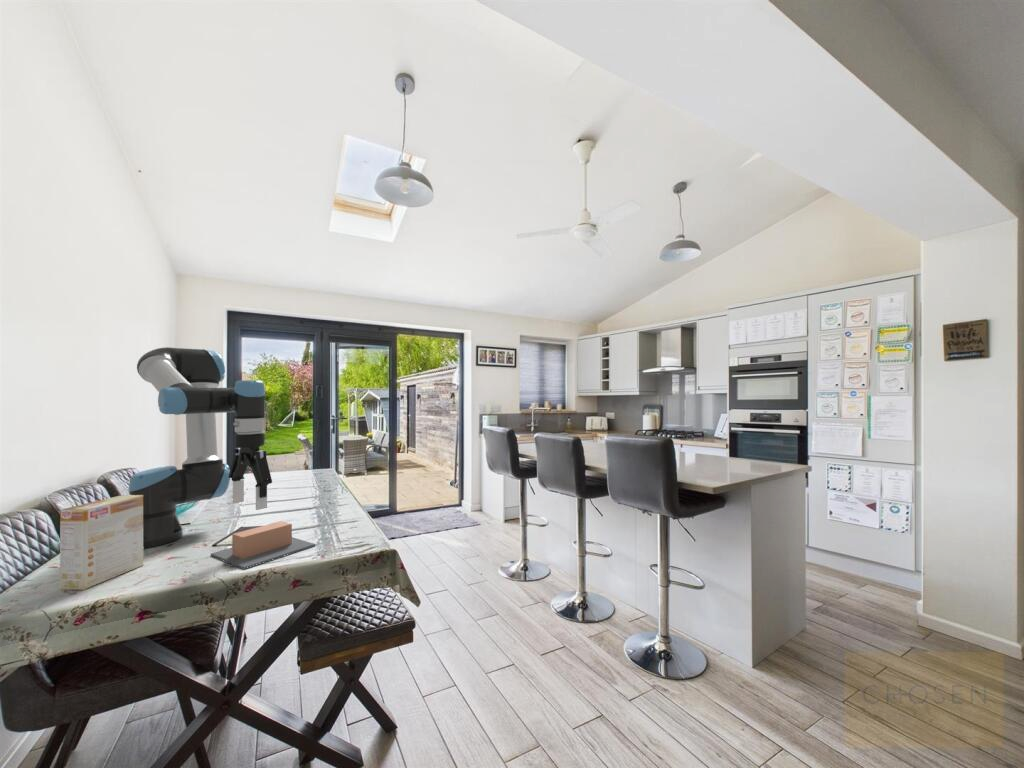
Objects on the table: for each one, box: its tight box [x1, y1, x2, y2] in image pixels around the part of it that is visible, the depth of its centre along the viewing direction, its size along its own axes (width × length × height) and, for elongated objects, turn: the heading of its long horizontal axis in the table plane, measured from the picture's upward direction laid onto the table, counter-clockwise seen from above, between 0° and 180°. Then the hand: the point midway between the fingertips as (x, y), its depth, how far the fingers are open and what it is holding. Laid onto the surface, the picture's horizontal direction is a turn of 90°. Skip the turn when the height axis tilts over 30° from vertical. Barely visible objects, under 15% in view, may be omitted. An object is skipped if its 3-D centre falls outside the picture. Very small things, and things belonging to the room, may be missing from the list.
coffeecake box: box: [59, 494, 144, 591], centre depth 108 cm, size 15×7×20 cm, turn 174°
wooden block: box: [231, 520, 293, 559], centre depth 124 cm, size 6×6×14 cm
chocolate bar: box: [211, 525, 262, 547], centre depth 138 cm, size 9×1×18 cm
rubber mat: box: [210, 536, 316, 569], centre depth 124 cm, size 20×20×1 cm
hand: (249, 505), depth 121 cm, fingers open, 13 cm apart
